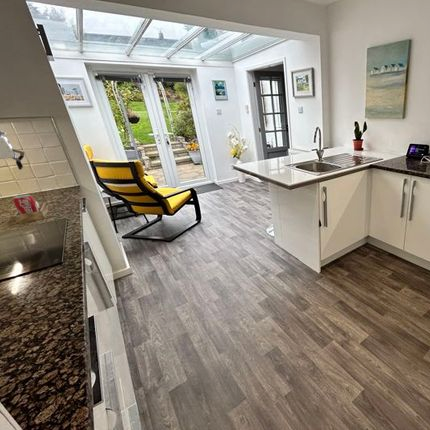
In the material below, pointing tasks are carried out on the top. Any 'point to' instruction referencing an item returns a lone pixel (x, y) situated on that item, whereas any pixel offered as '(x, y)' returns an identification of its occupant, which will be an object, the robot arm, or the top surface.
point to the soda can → (25, 204)
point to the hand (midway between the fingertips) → (6, 170)
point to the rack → (32, 214)
